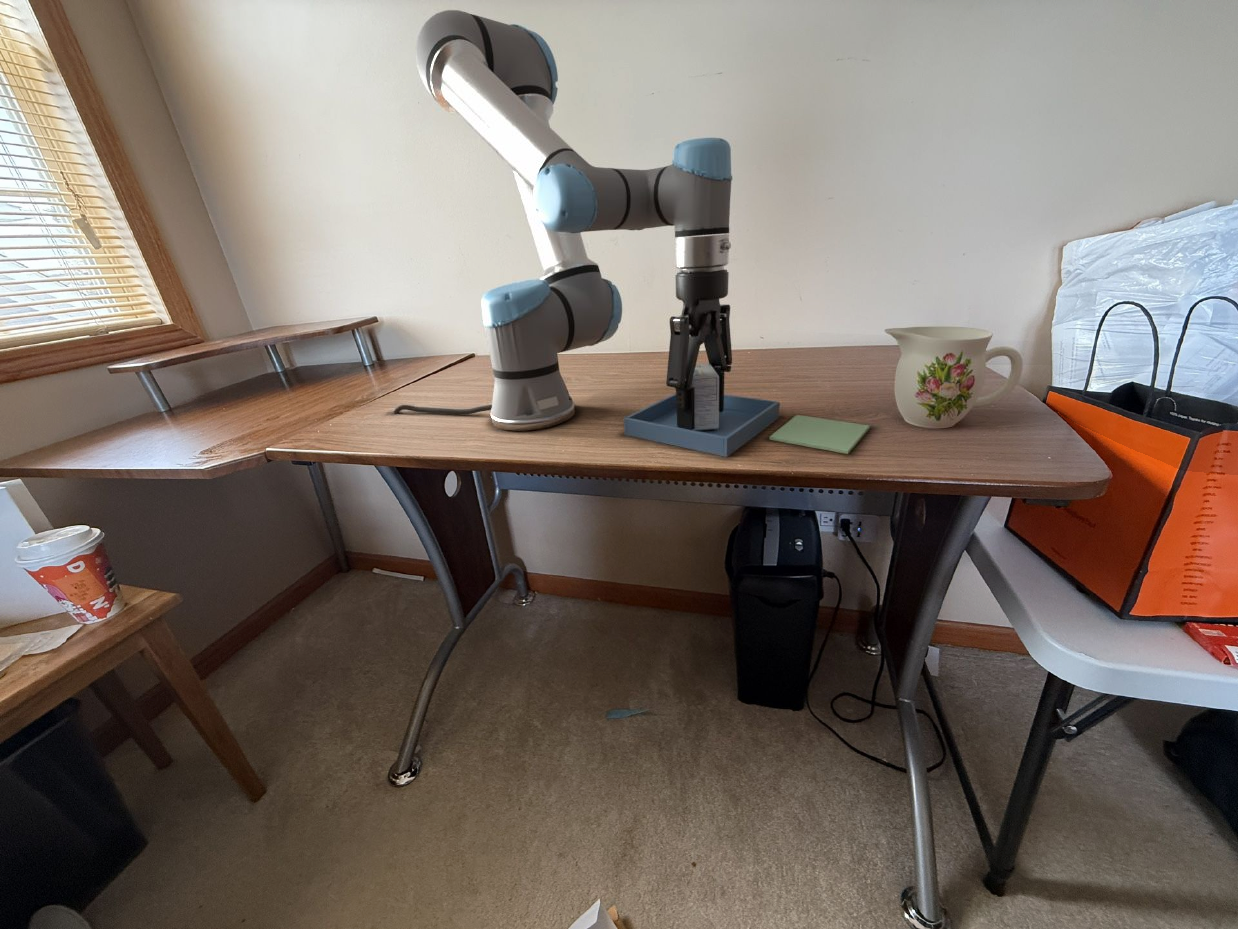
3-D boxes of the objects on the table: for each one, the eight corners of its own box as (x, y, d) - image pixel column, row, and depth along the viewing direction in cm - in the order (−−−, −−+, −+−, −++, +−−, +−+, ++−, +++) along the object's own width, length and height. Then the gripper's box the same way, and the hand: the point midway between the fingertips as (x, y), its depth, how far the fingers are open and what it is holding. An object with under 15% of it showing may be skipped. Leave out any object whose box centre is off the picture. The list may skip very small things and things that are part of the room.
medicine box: (719, 430, 74) (720, 375, 70) (690, 431, 74) (690, 377, 71) (710, 413, 81) (711, 362, 78) (684, 415, 81) (684, 364, 78)
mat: (769, 439, 71) (769, 436, 70) (796, 417, 78) (796, 414, 78) (847, 454, 64) (848, 450, 64) (869, 428, 72) (869, 425, 71)
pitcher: (1023, 436, 65) (1054, 333, 59) (877, 432, 70) (892, 337, 64) (991, 410, 75) (1015, 319, 69) (864, 408, 80) (877, 323, 74)
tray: (624, 434, 77) (623, 418, 76) (684, 403, 90) (684, 388, 88) (727, 457, 66) (727, 438, 65) (778, 417, 79) (780, 401, 78)
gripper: (684, 276, 58) (685, 445, 68) (758, 262, 73) (751, 403, 83) (635, 277, 63) (643, 436, 72) (715, 264, 78) (713, 397, 87)
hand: (701, 418), depth 78 cm, fingers closed on medicine box, 9 cm apart
